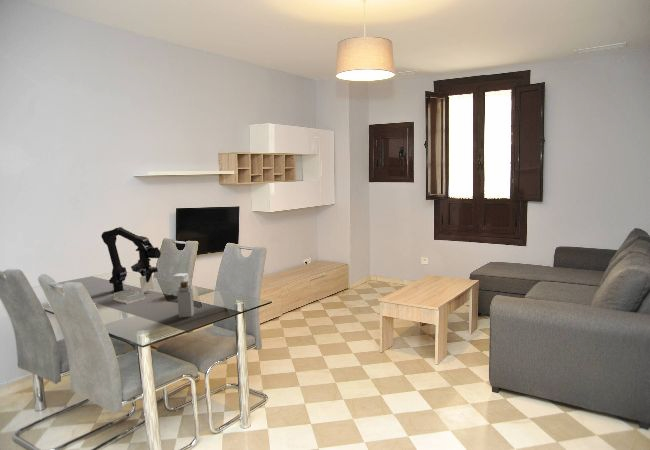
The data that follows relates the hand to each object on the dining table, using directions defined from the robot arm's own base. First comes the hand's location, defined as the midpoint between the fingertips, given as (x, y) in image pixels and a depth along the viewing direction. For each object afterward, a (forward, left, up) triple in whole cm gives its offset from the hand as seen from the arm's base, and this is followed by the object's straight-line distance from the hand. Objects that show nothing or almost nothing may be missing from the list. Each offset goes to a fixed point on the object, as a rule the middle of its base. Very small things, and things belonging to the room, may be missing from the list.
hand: (146, 282), depth 310 cm
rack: (+3, -14, -7) cm, 16 cm away
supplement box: (+22, +10, -7) cm, 25 cm away
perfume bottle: (+58, -13, -7) cm, 60 cm away
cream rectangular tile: (0, 0, -5) cm, 5 cm away
